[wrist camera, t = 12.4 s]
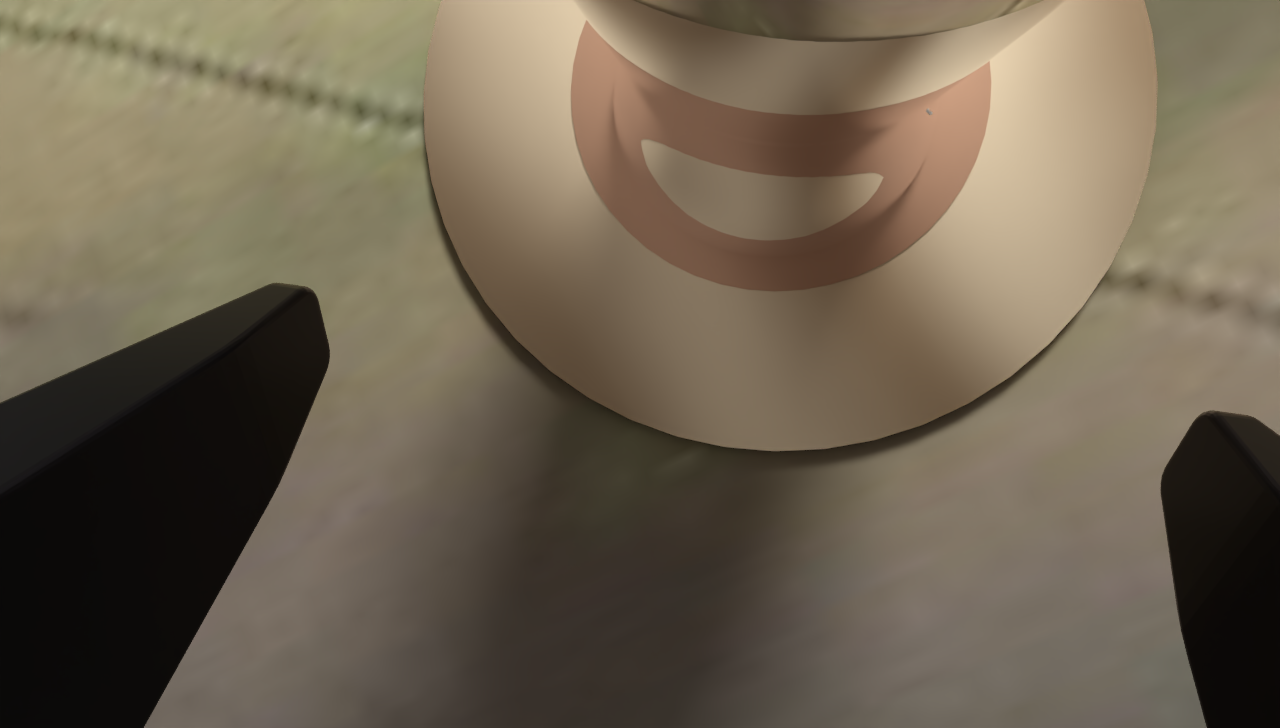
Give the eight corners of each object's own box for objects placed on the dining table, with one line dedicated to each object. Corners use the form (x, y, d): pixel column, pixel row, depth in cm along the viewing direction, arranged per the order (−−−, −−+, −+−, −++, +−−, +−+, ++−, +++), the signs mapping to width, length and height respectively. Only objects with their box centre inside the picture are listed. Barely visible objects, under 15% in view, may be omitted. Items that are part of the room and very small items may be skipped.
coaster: (703, 601, 16) (702, 604, 16) (299, 42, 18) (291, 33, 18) (1313, 150, 16) (1325, 144, 16) (841, -369, 18) (843, -386, 17)
